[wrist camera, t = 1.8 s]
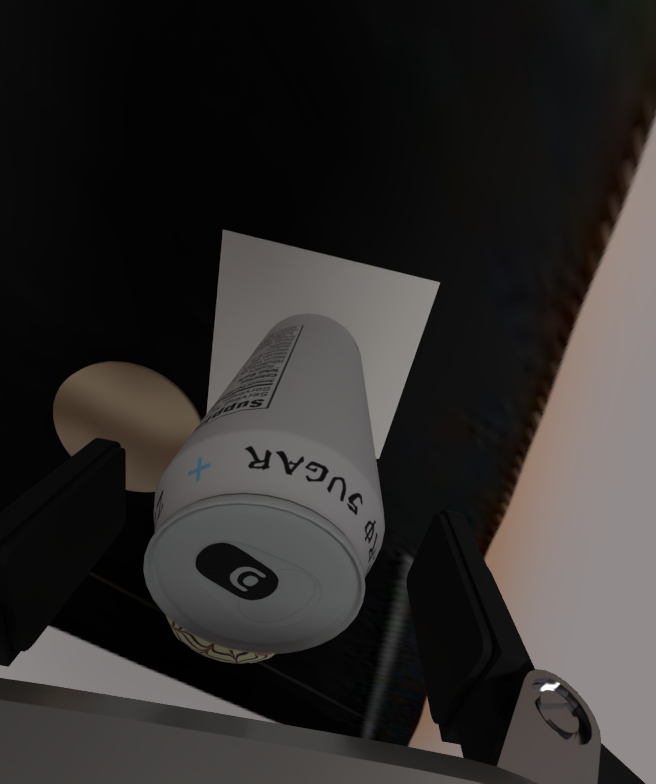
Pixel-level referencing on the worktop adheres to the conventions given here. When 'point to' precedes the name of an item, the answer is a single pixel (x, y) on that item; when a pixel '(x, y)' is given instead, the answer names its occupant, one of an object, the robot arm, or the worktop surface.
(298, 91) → the worktop surface
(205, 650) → the decorated donut
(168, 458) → the cork coaster
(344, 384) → the energy drink can
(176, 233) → the worktop surface
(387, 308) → the tile
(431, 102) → the worktop surface
